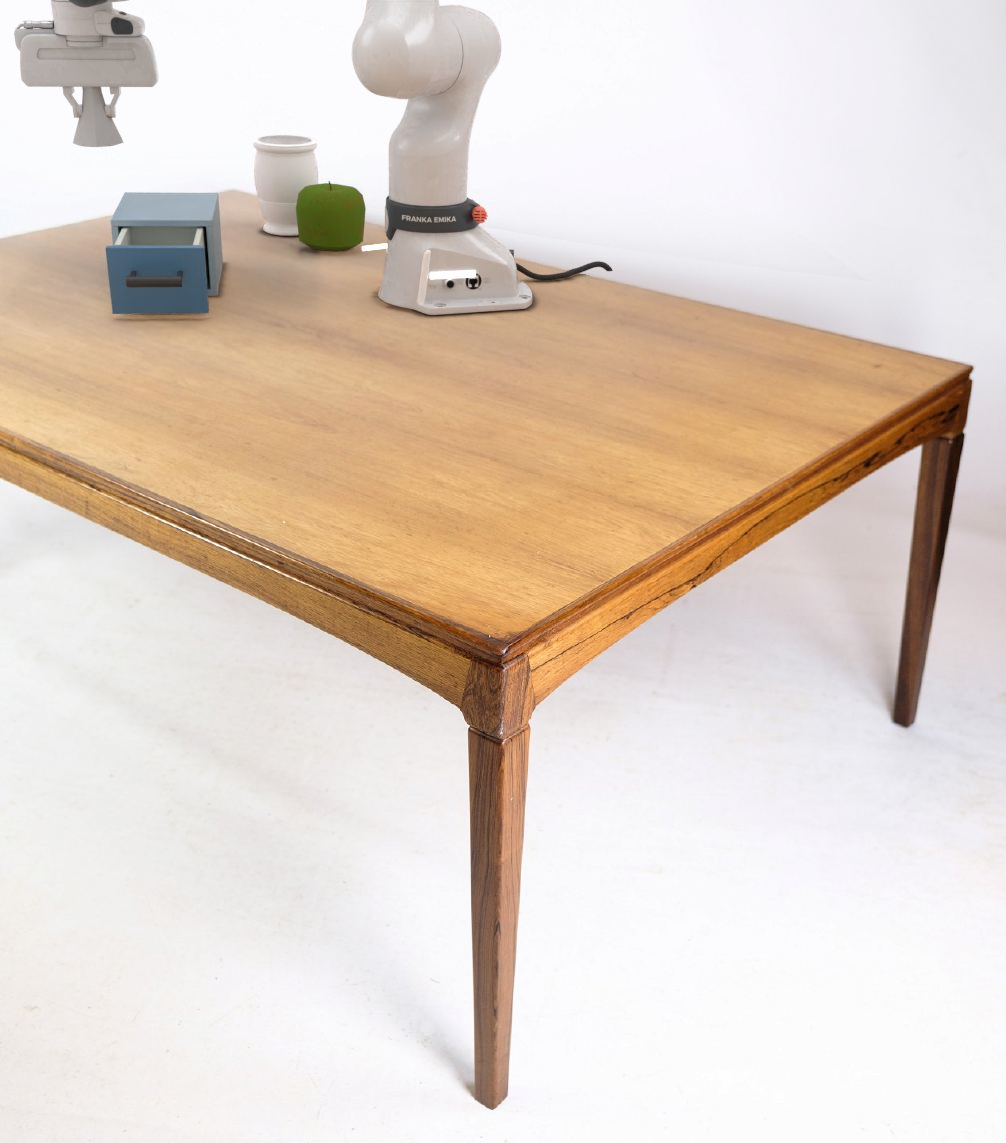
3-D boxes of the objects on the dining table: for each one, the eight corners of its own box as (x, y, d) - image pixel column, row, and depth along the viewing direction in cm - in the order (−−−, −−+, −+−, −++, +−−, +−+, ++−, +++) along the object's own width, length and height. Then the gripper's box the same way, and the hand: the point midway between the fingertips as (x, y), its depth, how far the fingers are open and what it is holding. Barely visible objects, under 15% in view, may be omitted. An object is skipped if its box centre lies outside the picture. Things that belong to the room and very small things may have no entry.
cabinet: (217, 296, 186) (212, 220, 180) (118, 296, 184) (110, 219, 178) (222, 263, 201) (218, 192, 196) (131, 263, 199) (124, 192, 194)
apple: (296, 256, 206) (293, 187, 201) (298, 240, 216) (296, 173, 210) (366, 257, 207) (365, 188, 202) (365, 241, 217) (364, 174, 212)
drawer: (206, 324, 171) (201, 257, 166) (108, 325, 169) (100, 257, 165) (214, 279, 189) (210, 218, 185) (126, 280, 188) (119, 218, 183)
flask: (132, 144, 204) (125, 77, 199) (97, 150, 199) (88, 81, 194) (100, 139, 207) (92, 73, 203) (64, 145, 202) (55, 77, 197)
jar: (325, 226, 225) (323, 136, 218) (312, 240, 216) (309, 147, 209) (265, 222, 226) (261, 132, 219) (249, 236, 217) (244, 143, 210)
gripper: (8, 22, 191) (22, 120, 197) (150, 23, 193) (159, 120, 200) (16, 18, 196) (29, 114, 202) (154, 20, 199) (163, 114, 205)
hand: (95, 117), depth 201 cm, fingers closed on flask, 3 cm apart
